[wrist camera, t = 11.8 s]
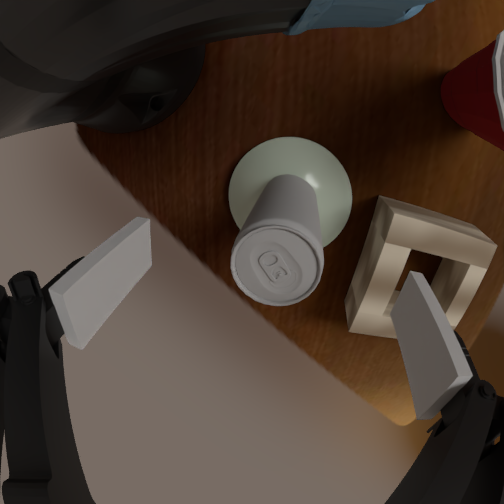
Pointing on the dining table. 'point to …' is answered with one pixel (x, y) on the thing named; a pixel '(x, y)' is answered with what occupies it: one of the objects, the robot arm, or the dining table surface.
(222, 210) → the dining table surface
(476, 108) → the plastic cup
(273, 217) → the beverage can
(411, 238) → the birch sleeve
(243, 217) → the pale green cabochon
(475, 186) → the dining table surface
